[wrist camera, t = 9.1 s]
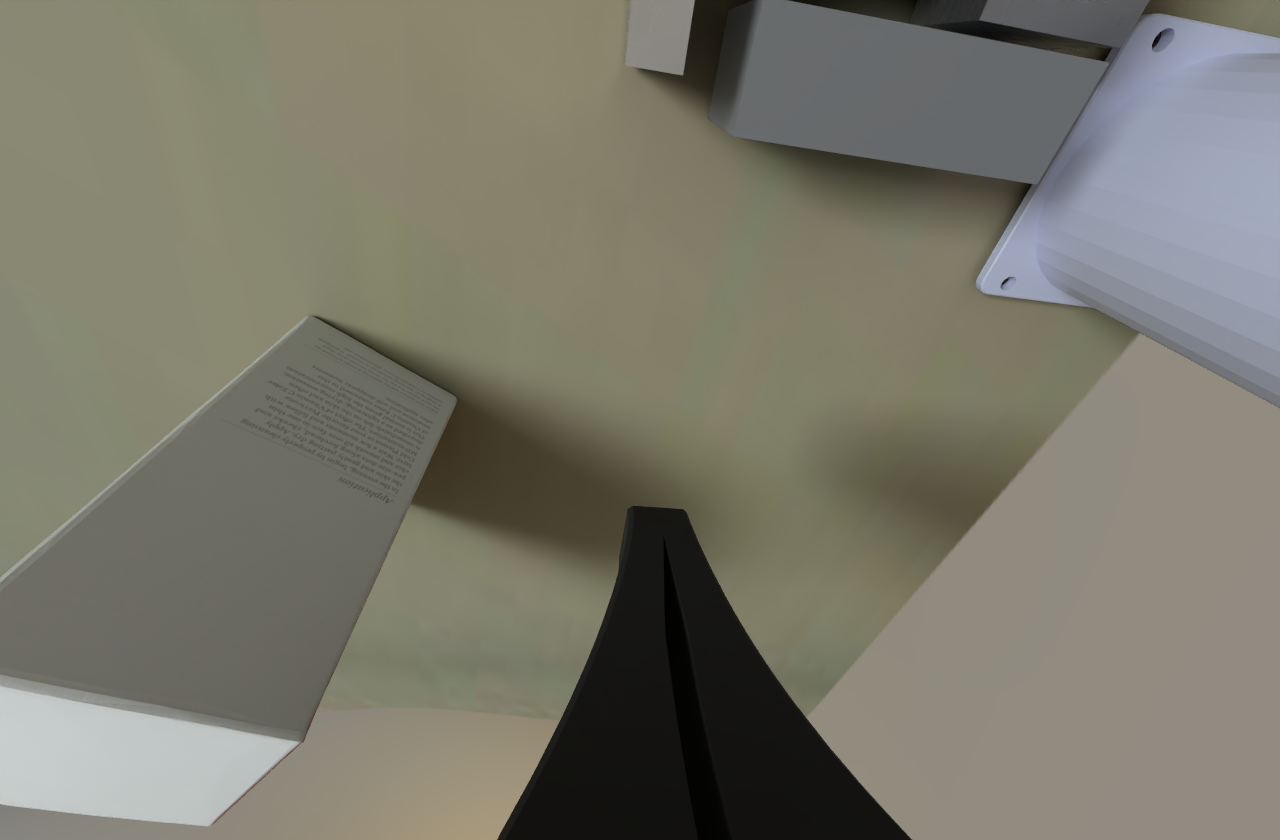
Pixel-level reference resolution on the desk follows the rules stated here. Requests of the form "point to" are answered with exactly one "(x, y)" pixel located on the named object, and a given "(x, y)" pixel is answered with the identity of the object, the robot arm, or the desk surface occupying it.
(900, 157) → the gauge housing
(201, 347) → the desk surface
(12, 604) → the small box
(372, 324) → the desk surface
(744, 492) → the desk surface
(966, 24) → the plunger
